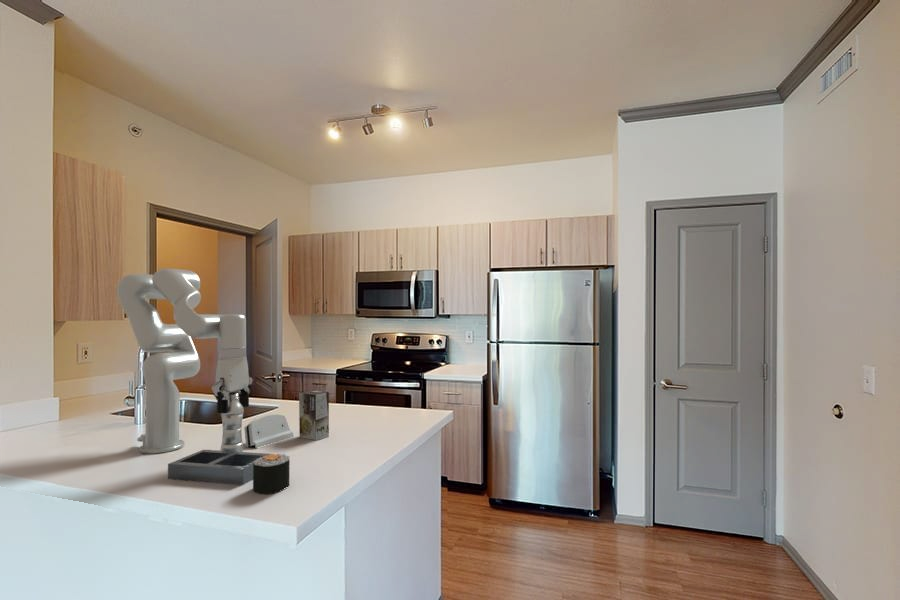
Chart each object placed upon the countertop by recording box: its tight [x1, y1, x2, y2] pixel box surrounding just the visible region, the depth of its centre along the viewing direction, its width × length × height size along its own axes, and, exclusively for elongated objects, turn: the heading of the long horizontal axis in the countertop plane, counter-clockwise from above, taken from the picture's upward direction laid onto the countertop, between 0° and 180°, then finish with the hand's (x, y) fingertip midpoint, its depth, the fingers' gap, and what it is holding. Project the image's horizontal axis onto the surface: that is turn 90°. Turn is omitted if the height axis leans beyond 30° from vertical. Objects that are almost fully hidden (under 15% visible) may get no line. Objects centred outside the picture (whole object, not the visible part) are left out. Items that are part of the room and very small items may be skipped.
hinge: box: [244, 414, 294, 449], centre depth 157 cm, size 17×5×10 cm, turn 153°
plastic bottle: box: [219, 391, 245, 452], centre depth 139 cm, size 6×7×20 cm
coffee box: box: [298, 389, 330, 441], centre depth 163 cm, size 9×6×16 cm
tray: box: [167, 449, 271, 485], centre depth 126 cm, size 23×13×4 cm, turn 79°
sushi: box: [252, 453, 291, 495], centre depth 115 cm, size 8×8×8 cm
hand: (233, 409), depth 139 cm, fingers open, 9 cm apart
